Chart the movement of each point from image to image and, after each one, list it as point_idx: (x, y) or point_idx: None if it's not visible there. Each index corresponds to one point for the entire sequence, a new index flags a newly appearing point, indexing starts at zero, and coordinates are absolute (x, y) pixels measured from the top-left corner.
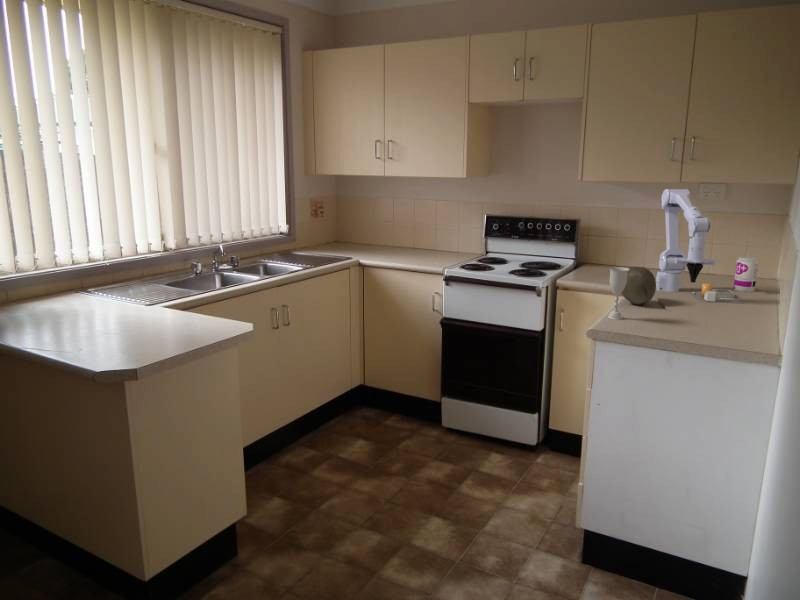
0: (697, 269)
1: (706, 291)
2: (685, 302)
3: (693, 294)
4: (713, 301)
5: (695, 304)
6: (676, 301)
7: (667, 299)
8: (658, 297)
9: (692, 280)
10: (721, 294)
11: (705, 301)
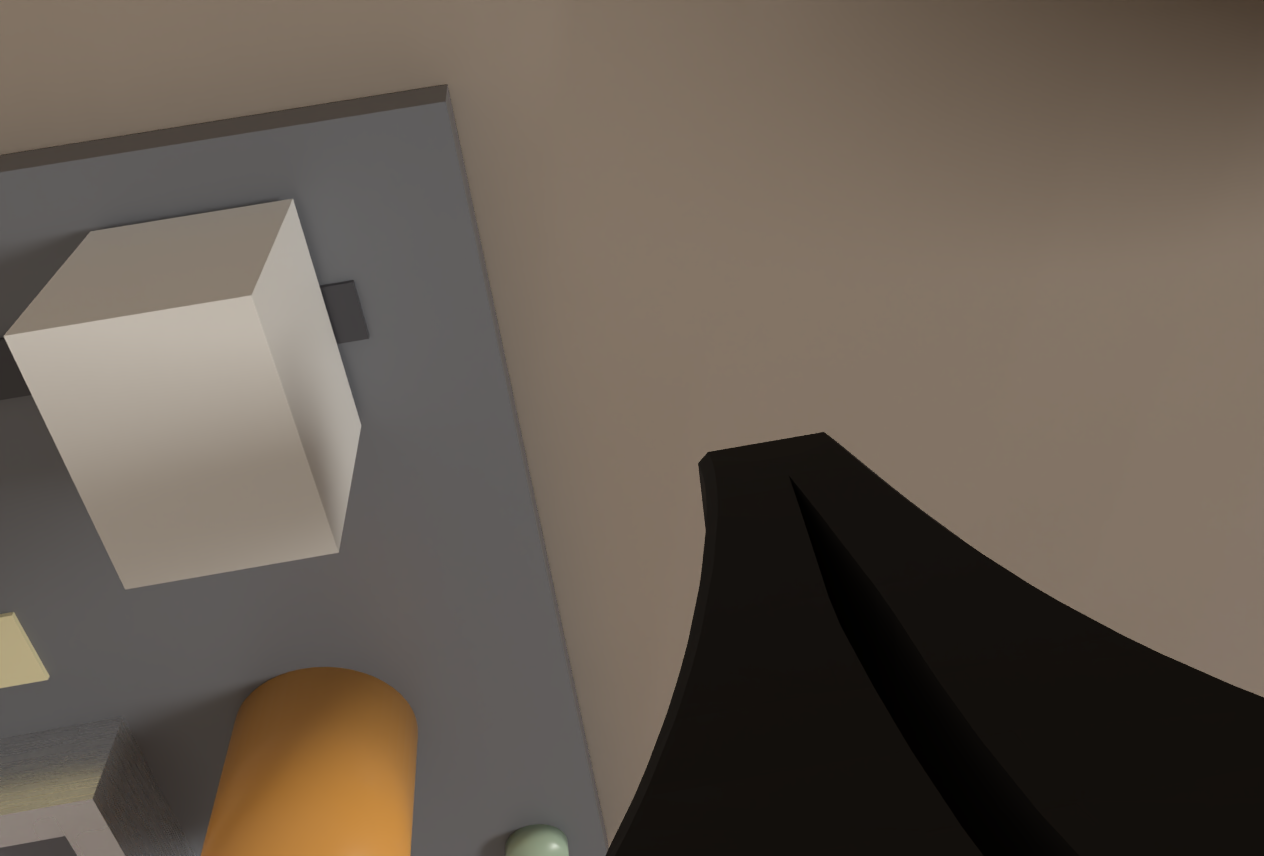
0: (865, 826)
1: (295, 438)
2: (775, 172)
3: (554, 772)
4: None
5: (566, 22)
6: (959, 203)
7: (1099, 335)
8: (1221, 450)
9: (834, 462)
10: (1, 787)
11: (324, 195)
